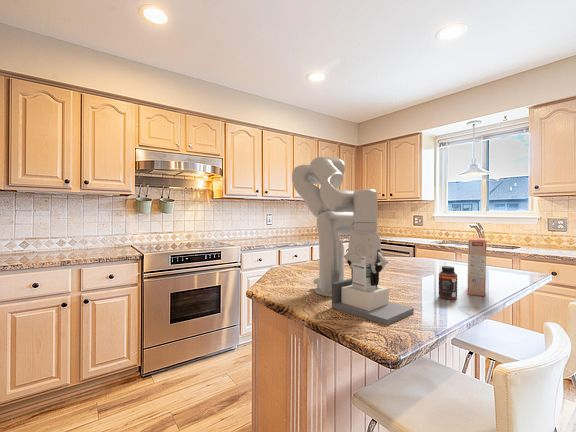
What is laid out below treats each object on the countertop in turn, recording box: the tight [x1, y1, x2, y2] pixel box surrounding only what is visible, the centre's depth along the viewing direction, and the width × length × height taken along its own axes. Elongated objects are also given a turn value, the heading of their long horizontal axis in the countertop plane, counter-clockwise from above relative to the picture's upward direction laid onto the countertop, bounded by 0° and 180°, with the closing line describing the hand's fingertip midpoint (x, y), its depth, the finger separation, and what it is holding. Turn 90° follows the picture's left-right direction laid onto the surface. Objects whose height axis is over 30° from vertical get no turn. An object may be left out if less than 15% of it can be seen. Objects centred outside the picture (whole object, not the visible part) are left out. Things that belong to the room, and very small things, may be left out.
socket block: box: [341, 285, 390, 311], centre depth 96 cm, size 11×11×5 cm
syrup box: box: [352, 256, 378, 292], centre depth 96 cm, size 6×6×14 cm
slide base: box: [331, 278, 415, 326], centre depth 94 cm, size 20×15×8 cm
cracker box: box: [467, 237, 487, 297], centre depth 116 cm, size 14×6×21 cm, turn 148°
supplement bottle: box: [438, 265, 458, 301], centre depth 108 cm, size 6×6×11 cm
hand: (364, 282), depth 96 cm, fingers open, 6 cm apart
